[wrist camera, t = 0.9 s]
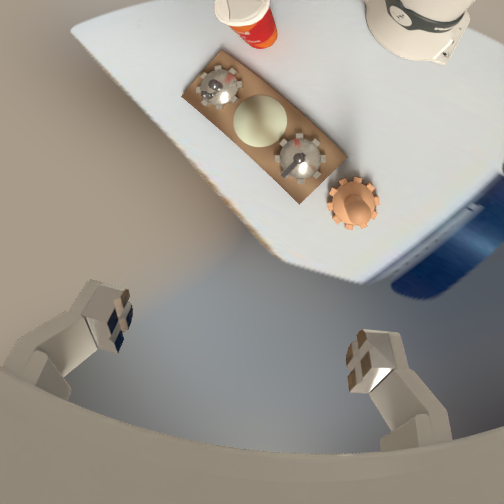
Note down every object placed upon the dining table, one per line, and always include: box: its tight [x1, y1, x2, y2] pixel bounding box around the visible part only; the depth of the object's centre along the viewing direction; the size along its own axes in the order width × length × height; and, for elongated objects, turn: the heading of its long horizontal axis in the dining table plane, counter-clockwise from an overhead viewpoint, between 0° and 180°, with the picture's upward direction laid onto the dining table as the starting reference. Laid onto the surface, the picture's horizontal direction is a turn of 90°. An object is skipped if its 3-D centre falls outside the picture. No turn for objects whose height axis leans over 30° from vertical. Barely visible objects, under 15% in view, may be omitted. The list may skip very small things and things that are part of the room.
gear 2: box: [275, 133, 326, 184], centre depth 43 cm, size 8×8×4 cm
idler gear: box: [328, 177, 380, 230], centre depth 42 cm, size 8×8×10 cm
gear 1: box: [196, 65, 244, 110], centre depth 42 cm, size 8×8×4 cm
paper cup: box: [214, 0, 277, 49], centre depth 34 cm, size 8×8×14 cm
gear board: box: [181, 50, 347, 204], centre depth 45 cm, size 11×28×2 cm, turn 48°
